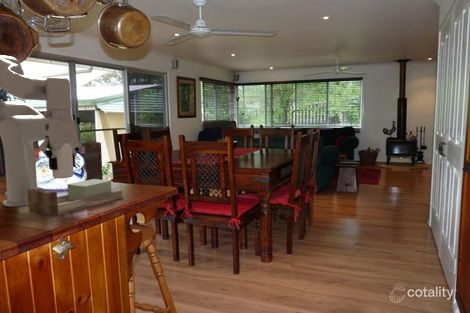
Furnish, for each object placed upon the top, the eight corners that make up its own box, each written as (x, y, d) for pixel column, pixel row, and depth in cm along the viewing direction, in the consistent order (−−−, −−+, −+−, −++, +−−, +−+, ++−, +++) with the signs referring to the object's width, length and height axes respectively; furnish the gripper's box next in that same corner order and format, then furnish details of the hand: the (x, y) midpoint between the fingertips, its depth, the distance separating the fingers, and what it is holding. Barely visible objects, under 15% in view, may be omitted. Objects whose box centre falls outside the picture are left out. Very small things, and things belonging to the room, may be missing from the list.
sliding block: (68, 199, 134) (67, 184, 133) (94, 193, 144) (94, 178, 144) (85, 202, 129) (84, 186, 129) (111, 195, 140) (110, 180, 139)
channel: (28, 212, 122) (27, 189, 121) (100, 194, 149) (99, 176, 148) (52, 216, 117) (51, 193, 116) (122, 197, 143) (121, 178, 142)
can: (65, 178, 122) (63, 142, 121) (48, 178, 123) (46, 142, 122) (77, 175, 128) (75, 141, 127) (61, 175, 130) (59, 141, 128)
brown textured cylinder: (90, 183, 172) (88, 140, 170) (105, 183, 172) (103, 140, 170) (83, 186, 165) (80, 141, 162) (99, 186, 164) (97, 141, 162)
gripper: (42, 115, 114) (46, 172, 116) (88, 114, 129) (91, 165, 131) (27, 115, 118) (31, 171, 120) (73, 115, 133) (76, 164, 135)
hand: (62, 167), depth 126 cm, fingers closed on can, 6 cm apart
